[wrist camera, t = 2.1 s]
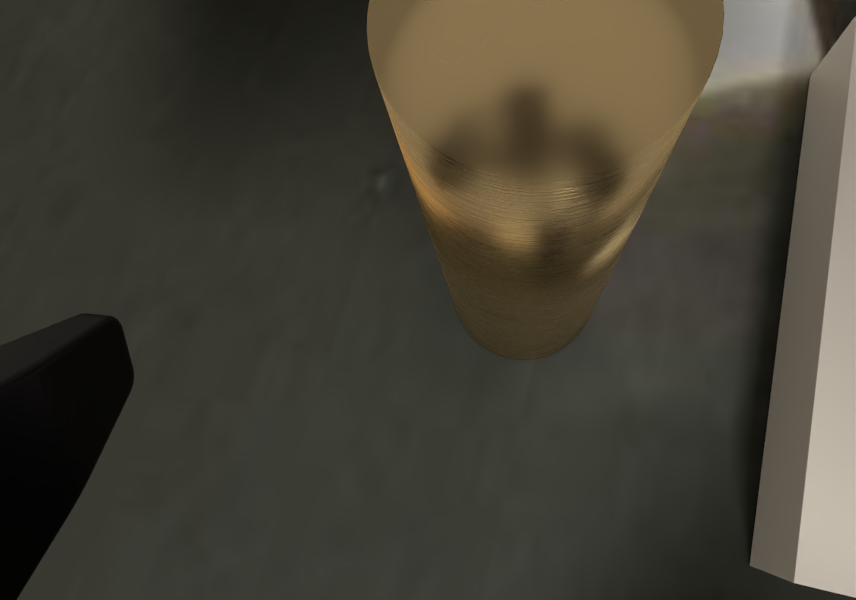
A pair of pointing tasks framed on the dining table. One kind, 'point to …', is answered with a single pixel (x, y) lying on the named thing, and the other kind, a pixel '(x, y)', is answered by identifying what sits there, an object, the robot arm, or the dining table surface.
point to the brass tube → (537, 142)
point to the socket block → (816, 353)
